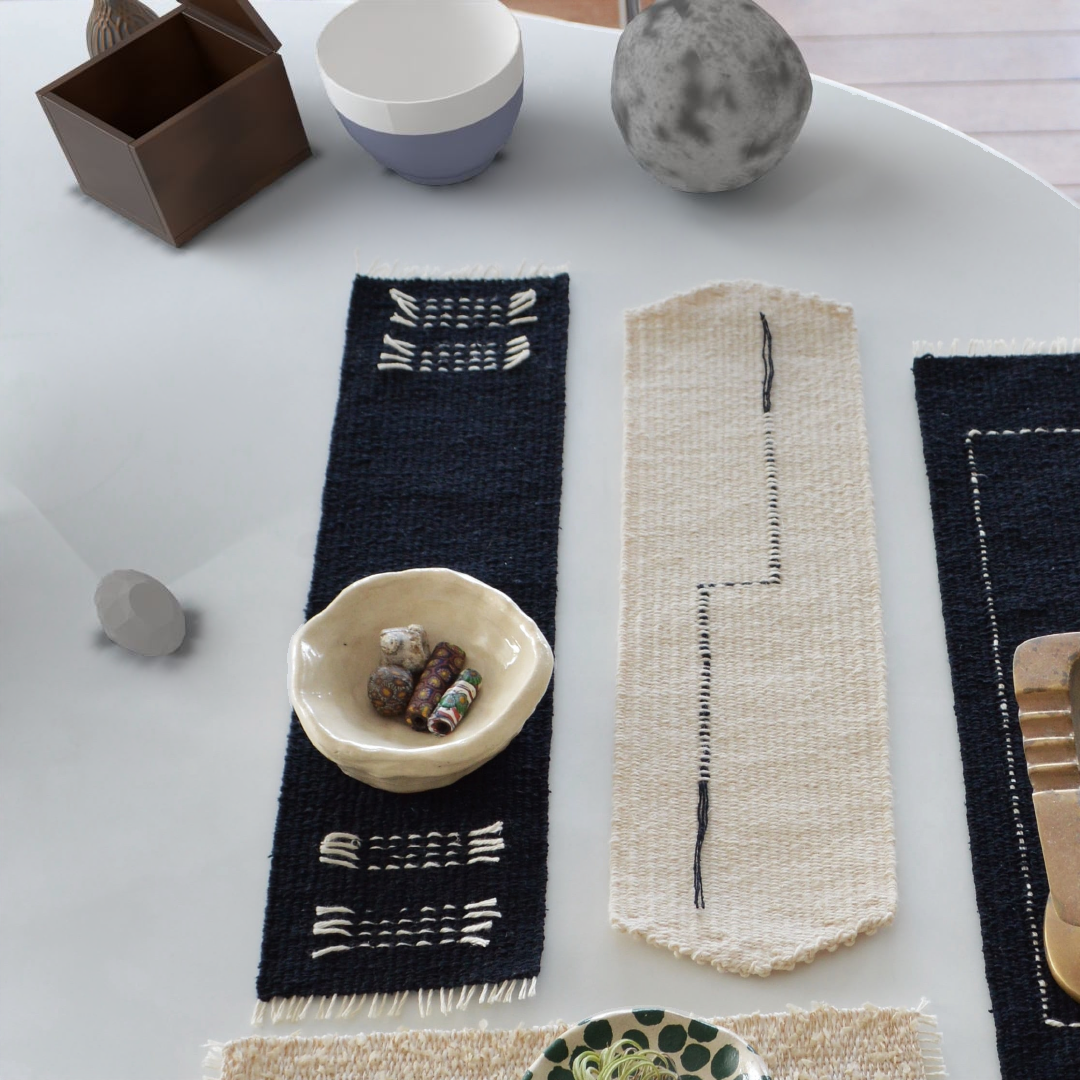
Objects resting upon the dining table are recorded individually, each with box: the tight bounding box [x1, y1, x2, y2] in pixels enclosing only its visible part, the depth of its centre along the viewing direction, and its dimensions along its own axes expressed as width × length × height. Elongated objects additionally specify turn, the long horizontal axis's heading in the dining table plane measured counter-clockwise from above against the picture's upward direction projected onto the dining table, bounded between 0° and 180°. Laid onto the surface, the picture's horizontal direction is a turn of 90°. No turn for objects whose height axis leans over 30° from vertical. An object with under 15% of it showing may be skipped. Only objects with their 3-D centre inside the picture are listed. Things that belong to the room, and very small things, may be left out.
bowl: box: [314, 0, 525, 186], centre depth 116 cm, size 16×16×10 cm
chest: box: [34, 3, 313, 248], centre depth 115 cm, size 15×12×9 cm
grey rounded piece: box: [93, 568, 187, 658], centre depth 93 cm, size 6×6×5 cm
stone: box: [610, 0, 814, 194], centre depth 111 cm, size 15×16×15 cm
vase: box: [85, 0, 161, 60], centre depth 121 cm, size 7×7×9 cm
